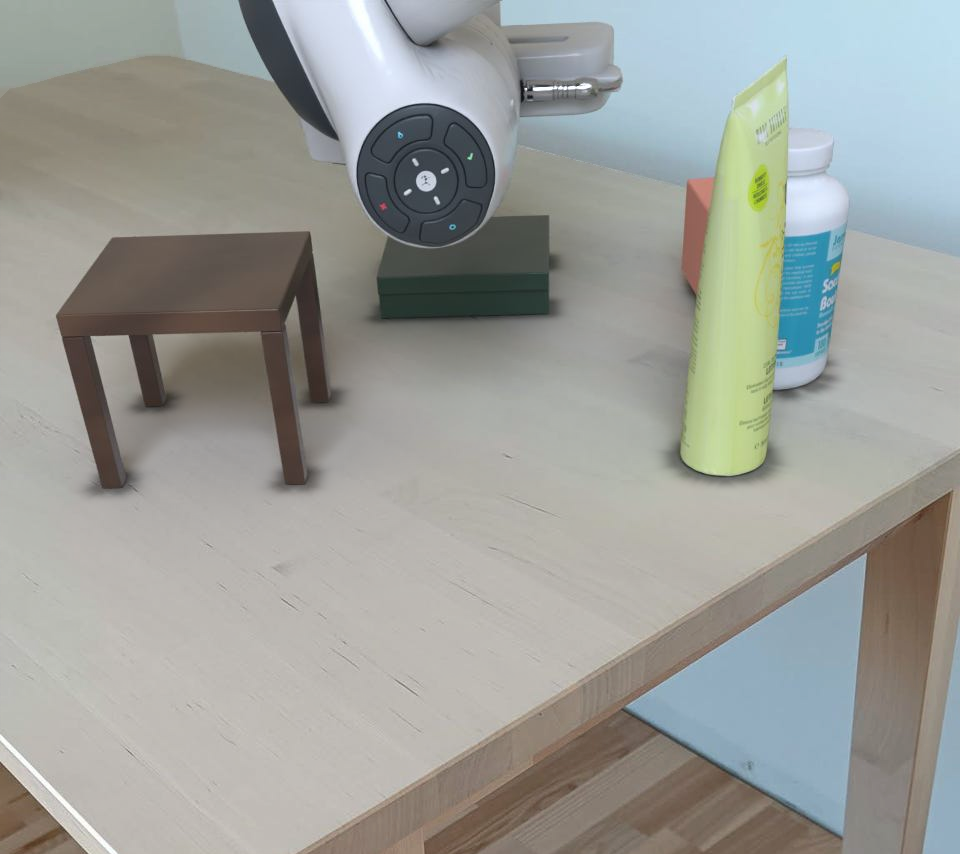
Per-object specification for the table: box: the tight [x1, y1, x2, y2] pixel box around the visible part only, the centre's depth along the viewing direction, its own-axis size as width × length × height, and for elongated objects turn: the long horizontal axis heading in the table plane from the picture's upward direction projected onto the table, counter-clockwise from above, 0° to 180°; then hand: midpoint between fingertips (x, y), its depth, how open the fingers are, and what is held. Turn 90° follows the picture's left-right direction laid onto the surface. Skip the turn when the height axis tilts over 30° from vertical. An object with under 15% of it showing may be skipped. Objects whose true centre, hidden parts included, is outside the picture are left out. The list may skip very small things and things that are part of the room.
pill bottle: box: [773, 127, 850, 391], centre depth 77 cm, size 8×7×14 cm
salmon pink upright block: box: [681, 176, 715, 297], centre depth 88 cm, size 8×12×8 cm, turn 5°
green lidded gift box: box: [376, 214, 550, 319], centre depth 93 cm, size 12×12×3 cm
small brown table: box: [55, 230, 332, 489], centre depth 75 cm, size 12×12×10 cm
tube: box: [679, 54, 790, 477], centre depth 67 cm, size 6×5×20 cm
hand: (458, 42), depth 84 cm, fingers closed on bottle, 5 cm apart
